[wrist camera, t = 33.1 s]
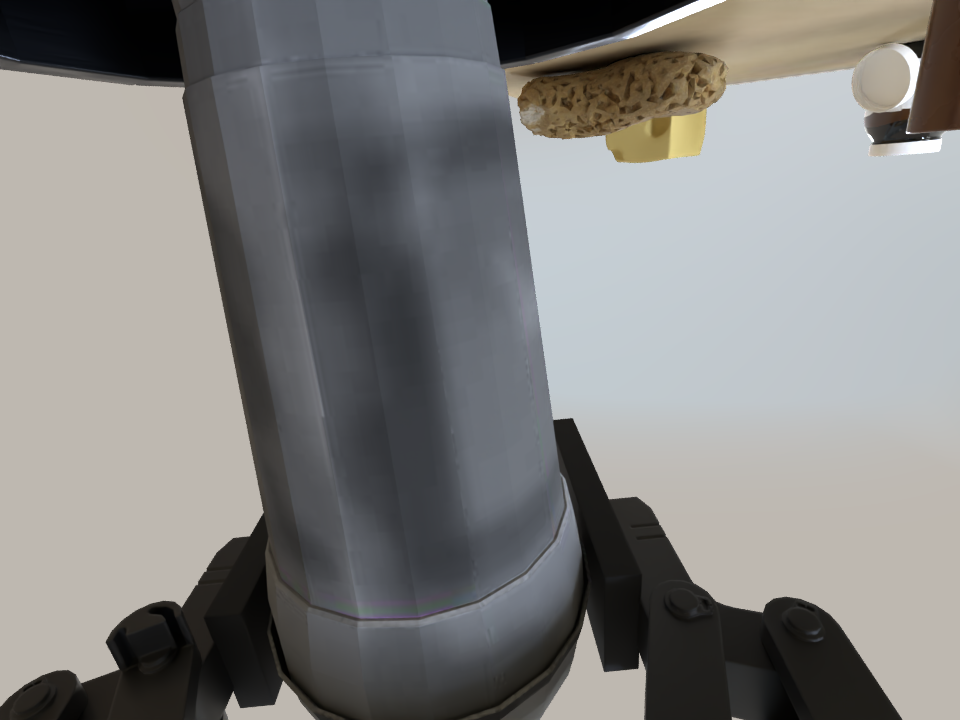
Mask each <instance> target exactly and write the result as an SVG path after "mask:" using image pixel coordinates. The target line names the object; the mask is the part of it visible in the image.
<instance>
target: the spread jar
mask: <svg viewBox="0 0 960 720" xmlns="http://www.w3.org/2000/svg"><path fill="white" fill-rule="evenodd" d="M924 42H925V41H920V42H915V43H911V44H906V45H903V44H897V43H892V44H887V45H884V46H882V47H879V48H877V49H875V50H873V51H871V52H869V53H868V54H867V55H865V56H864V57H863V58H862V59H861V60H860V61H859V63H858V64H857V66H856V68H855V70H854V73H853V77H852V91H853V95H854V97H855V99H856V101H857V102H858V104H859V105H860V106H861V107H862V108H864V109H865V117H864V126H865V130H866V132H867V134H868V136H869V138H870V139H871V140H872V143H871V144H872V145H870V147H869V153H868V156H891V155H905V154H918V153H930V152H937V151H940V147H941V143H942V139H941V138H942V137H941V136H942V134H944V133H945V132H946V131H939V132H928V133H916V134H907V133H906V129H907V124H908V119H909V114H910V109H911V105H912V100H913V95H914V90H915V85H916V80H917V76H918V71H919V66H920V61H921V56H922V51H923V47H924Z"/></svg>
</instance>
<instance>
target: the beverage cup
mask: <svg viewBox="0 0 960 720" xmlns="http://www.w3.org/2000/svg"><path fill="white" fill-rule="evenodd" d="M172 3H173V7H174V11H175V14H176V18H177V22H176V29H175V31H176V37H177V43H178V49H179V55H180V61H181V67H182V73H183V79H184V85H185V91H184V94H183V98H182V99H183V104H184V109H185V114H186V119H187V124H188V129H189V134H190V139H191V144H192V150H193V155H194V159H195V165H196V170H197V175H198V180H199V185H200V190H201V195H202V201H203V206H204V211H205V215H206V221H207V226H208V231H209V236H210V241H211V246H212V251H213V256H214V261H215V267H216V272H217V277H218V282H219V287H220V292H221V297H222V302H223V307H224V312H225V317H226V323H227V328H228V333H229V338H230V343H231V347H232V353H233V357H234V363H235V368H236V373H237V378H238V383H239V389H240V394H241V399H242V404H243V409H244V414H245V419H246V424H247V429H248V434H249V439H250V444H251V450H252V455H253V460H254V464H255V470H256V475H257V480H258V485H259V490H260V495H261V500H262V506H263V511H264V516H265V521H266V526H267V531H268V536H269V537H268V542H267V546H266V551H265V558H266V575H267V591H268V601H269V605H270V608H271V612H270V618H269V624H268V630H267V634H268V638H269V642H270V646H271V649H272V653H273V657H274V660H275V664H276V668H277V672H278V675H279V676H280V677H281V678H282V680H283V681H284V682H285V683H286V684H287V685H288V686H289V687H290V688H291V689H292V690H293V691H294V693H295V694H296V695H297V696H298V698H299V700H300V702H301V703H302V704H303V706H304V707H305V708H306V709H307V710H308V711H309V713H310V714H311V715H312V716H313V717H314V718H315V719H316V720H540V718H541V717H542V715H543V714H544V712H545V710H546V709H547V707H548V706H549V704H550V703H551V701H552V699H553V698H554V696H555V694H556V693H557V692H558V690H559V688H560V687H561V685H562V684H563V682H564V680H565V679H566V677H567V676H568V674H569V671H570V667H571V664H572V661H573V658H574V653H575V649H576V644H577V640H578V638H579V635H580V632H581V629H582V626H583V621H584V617H585V612H586V607H587V603H588V598H589V593H590V589H591V584H592V581H591V576H590V571H589V566H588V561H587V556H586V551H585V547H584V544H583V542H582V541H581V539H580V538H579V534H578V528H577V523H576V518H575V514H574V510H573V507H572V503H571V499H570V495H569V491H568V488H567V484H566V480H565V478H564V477H563V476H562V474H561V473H560V469H559V462H558V454H557V447H556V440H555V432H554V425H553V418H552V411H551V403H550V396H549V389H548V381H547V374H546V367H545V360H544V352H543V345H542V338H541V331H540V323H539V316H538V309H537V301H536V294H535V286H534V279H533V272H532V265H531V257H530V250H529V243H528V236H527V228H526V221H525V214H524V206H523V199H522V192H521V185H520V178H519V170H518V162H517V155H516V148H515V140H514V133H513V126H512V119H511V111H510V104H509V98H508V89H507V82H506V75H505V70H504V69H502V68H501V66H500V60H499V54H498V48H497V42H496V36H495V30H494V24H493V18H492V12H491V6H490V4H488V2H487V0H172Z"/></svg>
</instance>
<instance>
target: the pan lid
mask: <svg viewBox="0 0 960 720" xmlns="http://www.w3.org/2000/svg"><path fill="white" fill-rule="evenodd" d="M951 130H960V0H933V3H932V8H931V13H930V18H929V22H928V27H927V32H926V37H925V42H924V47H923V51H922V56H921V61H920V66H919V71H918V76H917V80H916V85H915V90H914V95H913V100H912V105H911V109H910V114H909V119H908V124H907V129H906V133H907V134H916V133H928V132H939V131H951Z"/></svg>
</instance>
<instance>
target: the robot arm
mask: <svg viewBox="0 0 960 720" xmlns="http://www.w3.org/2000/svg"><path fill="white" fill-rule="evenodd" d="M553 425H554V432H555V440H556V447H557V454H558V462H559V469H560V473H561V474H562V476H563V477H564V478H565V480H566V484H567V488H568V491H569V495H570V499H571V503H572V507H573V510H574V514H575V518H576V523H577V528H578V534H579V538H580V539H581V541H582V542H583V544H584V547H585V551H586V556H587V561H588V566H589V571H590V576H591V581H592V584H591V589H590V593H589V598H588V603H587V607H586V609H587V613H588V616H589V620H590V624H591V627H592V630H593V634H594V638H595V641H596V645H597V648H598V652H599V655H600V659H601V662H602V666H603V669H604V672H609V671H620V670H629V669H638V666H639V653H640V656H641V658H642V661H643V664H644V666H645V669H646V688H645V690H646V691H645V716H644V720H732V717H735V718H739V719H743V720H902V718H901V717H900V715H899V714H898V712H897V711H896V709H895V708H894V706H893V705H892V703H891V702H890V700H889V699H888V697H887V696H886V694H885V693H884V692H883V690H882V688H881V687H880V685H879V684H878V682H877V681H876V679H875V678H874V676H873V675H872V673H871V672H870V670H869V669H868V667H867V666H866V664H865V663H864V661H863V660H862V658H861V657H860V655H859V654H858V652H857V651H856V650H855V648H854V646H853V645H852V643H851V642H850V640H849V639H848V637H847V636H846V634H845V633H844V631H843V630H842V628H841V627H840V625H839V624H838V623H837V622H836V621H835V620H834V619H833V618H832V616H831V615H829V614H828V613H827V612H825V611H824V610H822V609H821V608H819V607H818V606H816V605H814V604H812V603H809V602H807V601H804V600H802V599H796V598H790V597H782V598H776V599H773V600H771V601H770V602H769V603H767V604H766V605H765V609H764V611H763V613H762V612H756V611H750V610H745V609H739V608H733V607H730V606H726V605H723V604H721V603H718V602H716V601H715V600H714V599H713V598H712V597H711V596H710V594H709V593H708V592H707V591H705V590H704V589H702V588H701V587H699V586H698V585H696V584H694V583H693V582H692V580H691V579H690V577H689V575H688V573H687V572H686V570H685V568H684V566H683V565H682V563H681V561H680V559H679V557H678V556H677V554H676V552H675V550H674V548H673V547H672V545H671V543H670V541H669V540H668V538H667V537H666V534H665V532H664V531H663V529H662V527H661V526H660V525H659V522H658V520H657V518H656V516H655V514H654V513H653V511H652V509H651V508H650V507H649V506H647V505H646V504H645V503H644V502H643V501H641V500H640V499H639V498H637V497H631V498H619V499H608V496H607V494H606V492H605V490H604V488H603V485H602V483H601V481H600V479H599V476H598V474H597V472H596V470H595V467H594V465H593V463H592V461H591V458H590V456H589V454H588V452H587V450H586V447H585V445H584V443H583V441H582V438H581V436H580V434H579V432H578V429H577V427H576V425H575V423H574V420H573V419H572V418H570V419H560V420H553ZM268 537H269V536H268V531H267V526H266V521H265V516H264V513H263V515H262V516H261V518H260V520H259V522H258V523H257V525H256V527H255V529H254V530H253V532H252V534H251V535H250V536H249V537H239V538H233V539H232V540H231V541H229V542H228V543H227V544H226V545H225V546H224V547H223V548H222V549H220V550H219V551H218V552H217V553H216V555H215V556H214V558H213V560H212V561H211V563H210V564H209V566H208V567H207V571H206V572H204V574H203V575H202V577H201V578H200V580H199V581H198V585H196V586H195V588H194V589H193V591H192V593H191V594H190V596H189V597H188V599H187V600H186V602H185V604H184V605H183V607H182V608H181V607H180V606H179V605H178V604H176V603H175V602H171V601H161V602H156V603H152V604H149V605H147V606H145V607H143V608H140V609H138V610H136V611H135V612H133V613H132V614H130V615H129V616H128V617H126V618H125V619H124V620H122V621H121V622H120V623H119V624H118V625H117V626H116V627H115V628H114V630H112V632H111V633H110V635H109V637H108V639H107V640H106V644H107V646H108V648H109V650H110V651H111V654H112V655H113V657H114V659H115V661H116V663H117V665H118V667H119V670H117V671H115V672H112V673H109V674H106V675H103V676H101V677H98V678H95V679H92V680H89V681H87V682H84V683H80V681H79V680H78V678H77V676H76V674H74V673H72V672H71V671H69V670H62V671H54V672H51V673H48V674H45V675H42V676H40V677H39V678H37V679H35V680H33V681H31V682H30V683H28V684H26V685H24V686H23V687H22V688H21V689H19V690H18V691H17V692H15V693H14V694H13V695H12V696H10V697H9V698H8V699H7V700H6V701H5V703H4V704H3V705H2V706H1V707H0V720H228V717H227V714H226V712H225V708H226V706H227V704H228V701H229V699H230V697H231V695H232V692H233V691H234V694H235V696H236V699H237V701H238V704H239V706H240V708H247V707H256V706H266V705H274V704H275V702H276V699H277V696H278V693H279V690H280V687H281V685H282V682H283V680H282V678H281V677H280V676H279V675H278V672H277V668H276V664H275V660H274V657H273V653H272V649H271V646H270V642H269V638H268V634H267V630H268V624H269V618H270V612H271V608H270V605H269V601H268V591H267V575H266V558H265V551H266V546H267V542H268Z"/></svg>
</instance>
